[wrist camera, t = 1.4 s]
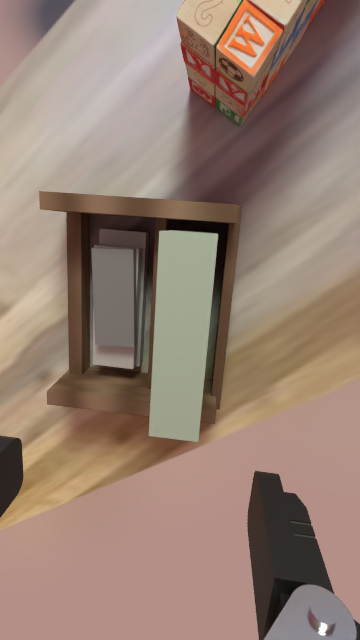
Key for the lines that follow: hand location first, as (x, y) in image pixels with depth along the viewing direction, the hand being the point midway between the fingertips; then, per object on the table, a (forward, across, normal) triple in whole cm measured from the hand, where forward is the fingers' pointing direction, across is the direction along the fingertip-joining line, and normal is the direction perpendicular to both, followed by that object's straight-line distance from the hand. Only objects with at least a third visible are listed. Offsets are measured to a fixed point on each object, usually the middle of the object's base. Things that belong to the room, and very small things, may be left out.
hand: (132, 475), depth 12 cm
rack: (+28, +5, 0) cm, 29 cm away
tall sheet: (+28, 0, 0) cm, 28 cm away
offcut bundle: (+28, +8, 0) cm, 30 cm away
